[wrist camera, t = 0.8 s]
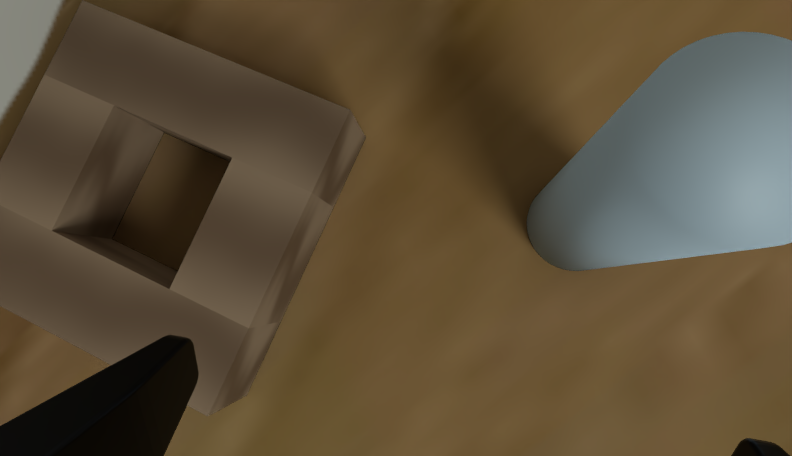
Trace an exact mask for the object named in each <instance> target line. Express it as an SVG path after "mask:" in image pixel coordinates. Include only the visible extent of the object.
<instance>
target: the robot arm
mask: <svg viewBox="0 0 792 456" xmlns="http://www.w3.org/2000/svg"><path fill="white" fill-rule="evenodd" d="M198 375H199V371H198V365H197V360H196V355H195V349H194V344H193V342H192V340H191V339H189V338H187V337H181V336H175V335H167V336H164V337H162V338H160V339H158V340H156V341H155V342H153V343H151V344H149V345H147V346H145V347H144V348H142V349H140V350H138V351H136V352H135V353H133V354H131V355H129V356H127V357H125V358H124V359H122V360H120V361H118V362H116V363H114V364H113V365H111V366H109V367H107V368H105V369H104V370H102V371H100V372H98V373H96V374H94V375H93V376H91V377H89V378H87V379H85V380H83V381H82V382H80V383H78V384H76V385H74V386H72V387H71V388H69V389H67V390H65V391H63V392H62V393H60V394H58V395H56V396H54V397H52V398H51V399H49V400H47V401H45V402H43V403H41V404H40V405H38V406H36V407H34V408H32V409H31V410H29V411H27V412H25V413H23V414H21V415H20V416H18V417H16V418H14V419H12V420H10V421H9V422H7V423H5V424H3V425H1V426H0V456H164V454H165V452H166V450H167V448H168V445H169V443H170V441H171V439H172V437H173V435H174V432H175V430H176V428H177V426H178V424H179V422H180V419H181V417H182V415H183V413H184V411H185V409H186V406H187V404H188V402H189V400H190V398H191V396H192V393H193V391H194V389H195V387H196V384H197V381H198ZM732 456H790V455H789V454H788V453H786V452H785V451H784V450H783V449H782V448H781V447H779V446H778V445H776V444H774V443H772V442H767V441H762V440H756V439H751V438H746V439H744V440H742V441H741V442H740V443H739V444H738V446H737V448H736V449H735V451H734V452H733V454H732Z"/></svg>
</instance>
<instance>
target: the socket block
mask: <svg viewBox="0 0 792 456" xmlns="http://www.w3.org/2000/svg"><path fill="white" fill-rule="evenodd" d="M163 133H167V134H169V135H171V136H173V137H176V138H178V139H180V140H182V141H185V142H187V143H189V144H191V145H194V146H196V147H198V148H200V149H203V150H205V151H207V152H209V153H212V154H214V155H216V156H218V157H221V158H223V159H225V160H227V161H230V163H229V166H228V168H227V170H226V172H225V174H224V176H223V178H222V180H221V182H220V184H219V186H218V189H217V191H216V193H215V195H214V197H213V199H212V201H211V203H210V205H209V207H208V209H207V211H206V214H205V216H204V218H203V220H202V222H201V224H200V226H199V228H198V230H197V232H196V234H195V237H194V239H193V241H192V243H191V245H190V247H189V249H188V251H187V253H186V255H185V257H184V260H183V262H182V264H181V266H180V268H179V270H178V271H176V270H174V269H172V268H170V267H168V266H166V265H164V264H162V263H160V262H157V261H155V260H153V259H151V258H149V257H147V256H145V255H143V254H141V253H139V252H137V251H135V250H133V249H131V248H129V247H127V246H125V245H123V244H121V243H119V242H117V241H114V240H112V237H113V235H114V233H115V231H116V229H117V227H118V225H119V223H120V221H121V219H122V217H123V215H124V213H125V211H126V209H127V207H128V205H129V203H130V201H131V199H132V197H133V195H134V193H135V191H136V188H137V186H138V184H139V182H140V180H141V178H142V176H143V174H144V172H145V170H146V168H147V166H148V164H149V162H150V160H151V158H152V156H153V154H154V152H155V150H156V148H157V146H158V144H159V142H160V140H161V137H162V135H163ZM365 138H366V137H365V135H364V133H363V131H362V130H361V128H360V126H359V124H358V123H357V121H356V119H355V117H354V115H353V114H352V112H351V110H349V109H347V108H345V107H342V106H340V105H337V104H335V103H332V102H330V101H327V100H325V99H323V98H320V97H318V96H315V95H313V94H310V93H308V92H305V91H303V90H301V89H298V88H296V87H293V86H291V85H288V84H286V83H284V82H281V81H279V80H276V79H274V78H271V77H269V76H266V75H264V74H262V73H259V72H257V71H254V70H252V69H249V68H247V67H244V66H242V65H240V64H237V63H235V62H232V61H230V60H227V59H225V58H223V57H220V56H218V55H215V54H213V53H210V52H208V51H205V50H203V49H201V48H198V47H196V46H193V45H191V44H188V43H186V42H183V41H181V40H179V39H176V38H174V37H171V36H169V35H166V34H164V33H161V32H159V31H157V30H154V29H152V28H149V27H147V26H144V25H142V24H140V23H137V22H135V21H132V20H130V19H127V18H125V17H122V16H120V15H118V14H115V13H113V12H110V11H108V10H105V9H103V8H100V7H98V6H96V5H93V4H91V3H88V2H86V1H83V0H82V2H81V4H80V6H79V8H78V10H77V12H76V14H75V15H74V17H73V19H72V21H71V23H70V25H69V27H68V29H67V31H66V33H65V35H64V37H63V39H62V41H61V43H60V45H59V47H58V49H57V51H56V53H55V55H54V57H53V59H52V61H51V62H50V64H49V66H48V68H47V70H46V72H45V74H44V76H43V78H42V80H41V82H40V84H39V86H38V88H37V90H36V92H35V94H34V96H33V98H32V100H31V102H30V104H29V106H28V107H27V109H26V111H25V113H24V115H23V117H22V119H21V121H20V123H19V125H18V127H17V129H16V131H15V133H14V135H13V137H12V139H11V141H10V143H9V145H8V147H7V149H6V151H5V153H4V154H3V156H2V158H1V160H0V306H1V307H3V308H5V309H7V310H9V311H11V312H12V313H14V314H16V315H18V316H20V317H22V318H24V319H26V320H28V321H29V322H31V323H33V324H35V325H37V326H39V327H41V328H43V329H44V330H46V331H48V332H50V333H52V334H54V335H56V336H58V337H59V338H61V339H63V340H65V341H67V342H69V343H71V344H73V345H74V346H76V347H78V348H80V349H82V350H84V351H86V352H88V353H90V354H91V355H93V356H95V357H97V358H99V359H101V360H103V361H105V362H106V363H108V364H110V365H113V364H114V363H116V362H118V361H120V360H122V359H124V358H125V357H127V356H129V355H131V354H133V353H135V352H136V351H138V350H140V349H142V348H144V347H145V346H147V345H149V344H151V343H153V342H155V341H156V340H158V339H160V338H162V337H164V336H167V335H175V336H181V337H187V338H189V339H191V340H192V342H193V344H194V349H195V355H196V360H197V365H198V371H199V375H198V381H197V384H196V387H195V389H194V391H193V393H192V396H191V398H190V400H189V402H188V404H187V406H189V407H191V408H193V409H195V410H197V411H198V412H200V413H202V414H204V415H206V416H209V415H211V414H213V413H215V412H217V411H219V410H220V409H222V408H224V407H226V406H228V405H230V404H232V403H234V402H235V401H237V400H239V399H241V398H243V397H245V396H247V394H248V392H249V389H250V387H251V385H252V383H253V381H254V379H255V376H256V374H257V372H258V370H259V368H260V366H261V363H262V361H263V359H264V357H265V355H266V353H267V350H268V348H269V346H270V344H271V342H272V340H273V337H274V335H275V333H276V331H277V329H278V327H279V324H280V322H281V320H282V318H283V316H284V314H285V311H286V309H287V307H288V305H289V303H290V301H291V298H292V296H293V294H294V292H295V290H296V288H297V285H298V283H299V281H300V279H301V277H302V275H303V272H304V270H305V268H306V266H307V264H308V262H309V259H310V257H311V255H312V253H313V251H314V249H315V246H316V244H317V242H318V240H319V238H320V236H321V234H322V231H323V229H324V227H325V225H326V223H327V221H328V218H329V216H330V214H331V212H332V210H333V208H334V205H335V203H336V201H337V199H338V197H339V195H340V192H341V190H342V188H343V186H344V184H345V182H346V179H347V177H348V175H349V173H350V171H351V169H352V166H353V164H354V162H355V160H356V158H357V156H358V153H359V151H360V149H361V147H362V145H363V143H364V140H365Z"/></svg>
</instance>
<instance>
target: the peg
mask: <svg viewBox="0 0 792 456" xmlns="http://www.w3.org/2000/svg"><path fill="white" fill-rule="evenodd" d="M527 231H528V236H529V239H530V242H531V244H532V246H533V247H534V249H535V250H536V252H537V253H538V254H539V255H540V256H541V257H542V258H543V259H544V260H545V261H547V262H548V263H550V264H552V265H554V266H556V267H558V268H561V269H565V270H571V271H582V270H590V269H598V268H606V267H614V266H622V265H630V264H638V263H646V262H654V261H662V260H670V259H678V258H686V257H694V256H702V255H710V254H718V253H726V252H734V251H743V250H751V249H759V248H767V247H773V246H779V245H784V244H788V243H791V242H792V41H791V40H788V39H785V38H782V37H778V36H774V35H770V34H763V33H757V32H734V33H725V34H720V35H715V36H711V37H707V38H704V39H701V40H698V41H696V42H694V43H692V44H690V45H688V46H685V47H684V48H682V49H681V50H679V51H677V52H676V53H674V54H673V55H671V56H670V57H669V58H668V59H667V60H665V61H664V62H663V63H662V64H661V65H660V66H659V67H658V68H657V69H656V70H655V71H654V72H653V73H652V74H651V76H650V77H649V78H648V79H647V80H646V81H645V82H644V83H643V84H642V85H641V86H640V87H639V88H638V89H637V90H636V91H635V92H634V93H633V94H632V96H631V97H630V98H629V99H628V100H627V101H626V102H625V103H624V104H623V105H622V106H621V107H620V108H619V109H618V110H617V111H616V112H615V113H614V115H613V116H612V117H611V118H610V119H609V120H608V121H607V122H606V123H605V124H604V125H603V126H602V127H601V128H600V129H599V130H598V131H597V132H596V134H595V135H594V136H593V137H592V138H591V139H590V140H589V141H588V142H587V143H586V144H585V145H584V146H583V147H582V148H581V149H580V150H579V151H578V153H577V154H576V155H575V156H574V157H573V158H572V159H571V160H570V161H569V162H568V163H567V164H566V165H565V166H564V167H563V168H562V169H561V170H560V172H559V173H558V174H557V175H556V176H555V177H554V178H553V179H552V180H551V181H550V182H549V183H548V184H547V185H546V186H545V187H544V188H543V189H542V190H541V192H540V193H539V194H538V195H537V196H536V197H535V199H534V200H533V202H532V204H531V206H530V208H529V211H528V216H527Z"/></svg>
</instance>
